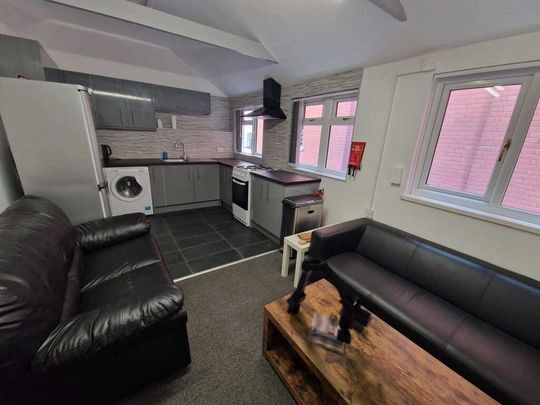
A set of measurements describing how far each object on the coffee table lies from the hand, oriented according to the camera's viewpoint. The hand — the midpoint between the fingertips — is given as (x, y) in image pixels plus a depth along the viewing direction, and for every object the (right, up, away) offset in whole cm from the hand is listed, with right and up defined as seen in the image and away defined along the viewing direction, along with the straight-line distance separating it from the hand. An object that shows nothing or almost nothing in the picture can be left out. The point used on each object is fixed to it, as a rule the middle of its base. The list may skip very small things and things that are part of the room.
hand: (342, 337), depth 110 cm
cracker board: (-5, -3, +9) cm, 11 cm away
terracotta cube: (-4, -1, +6) cm, 7 cm away
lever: (-7, -2, +4) cm, 8 cm away
